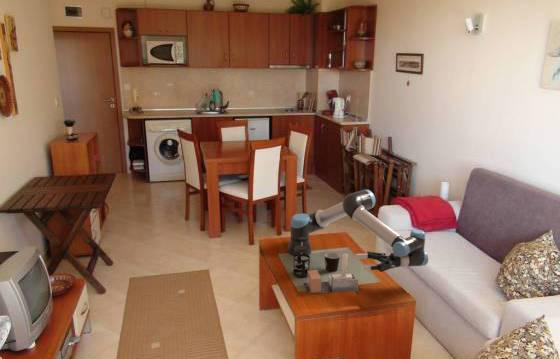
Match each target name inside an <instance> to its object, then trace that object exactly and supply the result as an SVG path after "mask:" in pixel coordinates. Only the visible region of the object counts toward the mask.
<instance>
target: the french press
mask: <svg viewBox="0 0 560 359" xmlns="http://www.w3.org/2000/svg"><path fill="white" fill-rule="evenodd" d="M298 239H299V240H301V242H303V240H306V238H304V237H300V238H298ZM309 250H310V248H309V247H307V246H296V247H294V253H295V254H296V255H293V263H292V264H293V265H292V268H293V269H292V270H293V271H292V275H293V277H295V278H298V279H306V278H307V274H308V270H310V261H311V257H310V254H308V255H307V254H302V252H306V253H309ZM303 257H305V258H307V259H303ZM300 272H301V274H298V273H300Z"/></svg>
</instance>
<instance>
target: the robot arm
mask: <svg viewBox="0 0 560 359" xmlns="http://www.w3.org/2000/svg"><path fill="white" fill-rule="evenodd" d="M375 205H376V196H375V195H374V193H373V192H372V191H371V190H370V189H362V190H358V191H355V192H352V193H349V194H347V195H345V197H344V198H343V200H342V201H341V202H339V203H337V204H335V205H332V206H331V207H328V208H326V209H324V210H323V209H319V210H316V211H313V212H312V213H309V214H307V213H296V214H294V215H293V216H291V219H290V222H289V223H290V239H289V243H288V245H287V253H288V252H289V253H288V254H290V255H292V256H294V255H296V254H295V253H294V247H296V246H307V247H309V248H310V250H309V253H306V252H302V254H307V255H310V254H311V253H312V246H311V243H310V234H311V233H312V234H313V233H314V232H317V231H321V230H323V229H325V228H327V227H328V226H329V225H330V224H331V223H333V222H335V221H338V220H339V219H342V218H344V217H347V216H348V217H349V218H350V219H352V221H357V222H358V223H360V224H361V225H362V226H363V227H365V228H367V230H368V231H370V232H371V233H372V234H374V235H375V236H377V238H379V239H381V241H383V242H384V243H386V244H387V245H388V246H390V247H391V248H392V252H391V253H390V254H389V255H387V254H386V253H385V252H375V251H366V253H356V254H355V257H354V258H355V260H368V259H370V260H375V261H378V262H380V263H378V264H377V263H376V264H375V263H374V264H364V265H363V271H365V272H366V271H379V272H380V273H383V272H385V271H388V270H390V269H395V268H405V267H406V268H407V267H423V266H426V265H427V264H428V263H429V255H428V252H426V251H425V245H426V232H425V231H423V230H422V229H411V231H410V233H409V236H408V237H405V238H404V237H403V236H402V235H400V234H399V233H398V232H396V231H395V230H393V229H392V227H390V226H388V225H387V224H385V223H384V222H383V221H382V220H380V219H379V218H378V217H376V216H375V215H373V214H372V213H371V212H369V210H371V209H373V208H374V207H375ZM300 237H304V238H306V240H303V242H301V240H299V239H298V238H300Z"/></svg>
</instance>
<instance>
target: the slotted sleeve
mask: <svg viewBox="0 0 560 359" xmlns="http://www.w3.org/2000/svg"><path fill="white" fill-rule="evenodd" d="M350 274H351V275H352V277H353V279H347V280H332V286H331V285H329V283H328V281H321V292H317V293H311V291H310V289H309V287H308V284H307V282H303V283H302V284H303V286H304V288H305V291H306V293H307V295H316V294H330V293H331V294H332V293H344V292H347V293H348V292H355V294H356V293H357V294H359V293H360V290H359V288H358V287H359V279H358V277H357V276H356V275H355V274H354V273H350Z"/></svg>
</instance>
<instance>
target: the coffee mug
mask: <svg viewBox="0 0 560 359" xmlns="http://www.w3.org/2000/svg"><path fill="white" fill-rule="evenodd" d="M340 258H341V255H340V254H339V253H337V252H326V253H324V263H325V264H324V266H325V271H327V272H329V273H335V272H337V271H339V270H338V268H339V263H340Z"/></svg>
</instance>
